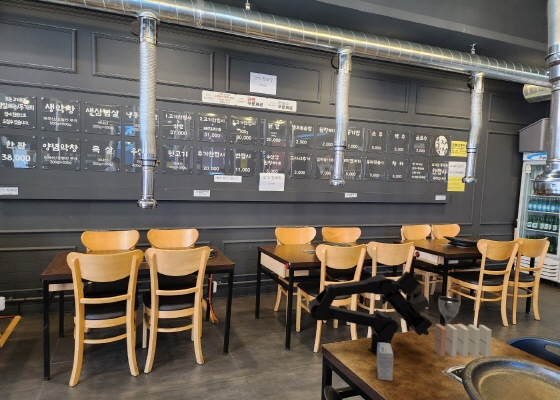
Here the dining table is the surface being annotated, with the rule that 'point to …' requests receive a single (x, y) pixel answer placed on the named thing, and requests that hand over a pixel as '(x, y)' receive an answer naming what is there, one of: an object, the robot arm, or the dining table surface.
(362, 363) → the dining table surface
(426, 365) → the dining table surface
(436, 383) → the dining table surface
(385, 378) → the medicine box
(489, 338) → the domino
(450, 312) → the wine glass
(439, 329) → the domino
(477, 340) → the domino
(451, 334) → the domino
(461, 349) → the domino
